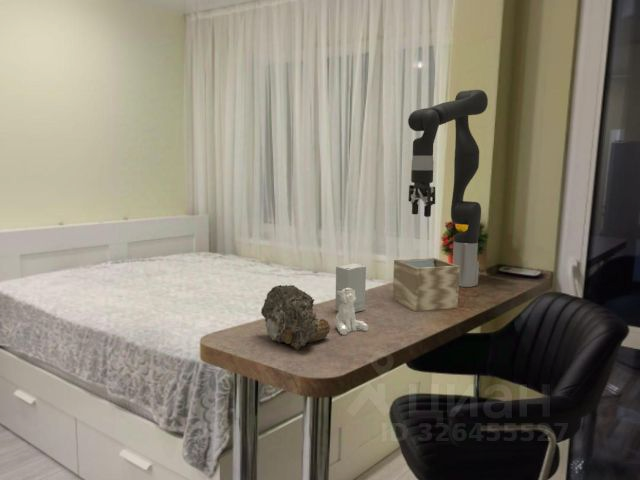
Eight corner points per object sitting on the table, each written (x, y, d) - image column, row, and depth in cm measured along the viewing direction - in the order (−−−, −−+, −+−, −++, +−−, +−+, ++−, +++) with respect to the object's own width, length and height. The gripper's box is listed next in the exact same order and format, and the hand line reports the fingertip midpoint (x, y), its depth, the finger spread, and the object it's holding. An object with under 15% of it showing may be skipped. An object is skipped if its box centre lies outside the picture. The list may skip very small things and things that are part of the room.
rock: (262, 280, 133) (312, 264, 140) (253, 310, 143) (300, 294, 151) (296, 340, 124) (347, 320, 132) (283, 367, 135) (331, 348, 142)
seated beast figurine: (341, 336, 143) (342, 293, 141) (324, 327, 150) (325, 287, 148) (369, 331, 148) (370, 289, 146) (351, 323, 155) (352, 283, 153)
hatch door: (432, 259, 186) (434, 258, 185) (441, 294, 181) (442, 293, 180) (399, 261, 182) (400, 260, 181) (406, 296, 177) (408, 296, 176)
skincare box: (353, 306, 173) (354, 262, 171) (366, 310, 169) (367, 265, 167) (334, 310, 168) (334, 265, 166) (346, 315, 163) (347, 268, 161)
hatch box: (432, 296, 189) (434, 258, 187) (457, 307, 174) (459, 266, 172) (392, 299, 184) (394, 260, 182) (414, 311, 169) (416, 268, 167)
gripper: (443, 169, 176) (441, 217, 179) (421, 168, 189) (420, 213, 192) (423, 169, 174) (421, 218, 176) (402, 168, 187) (401, 213, 189)
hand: (420, 215), depth 184 cm, fingers open, 8 cm apart
